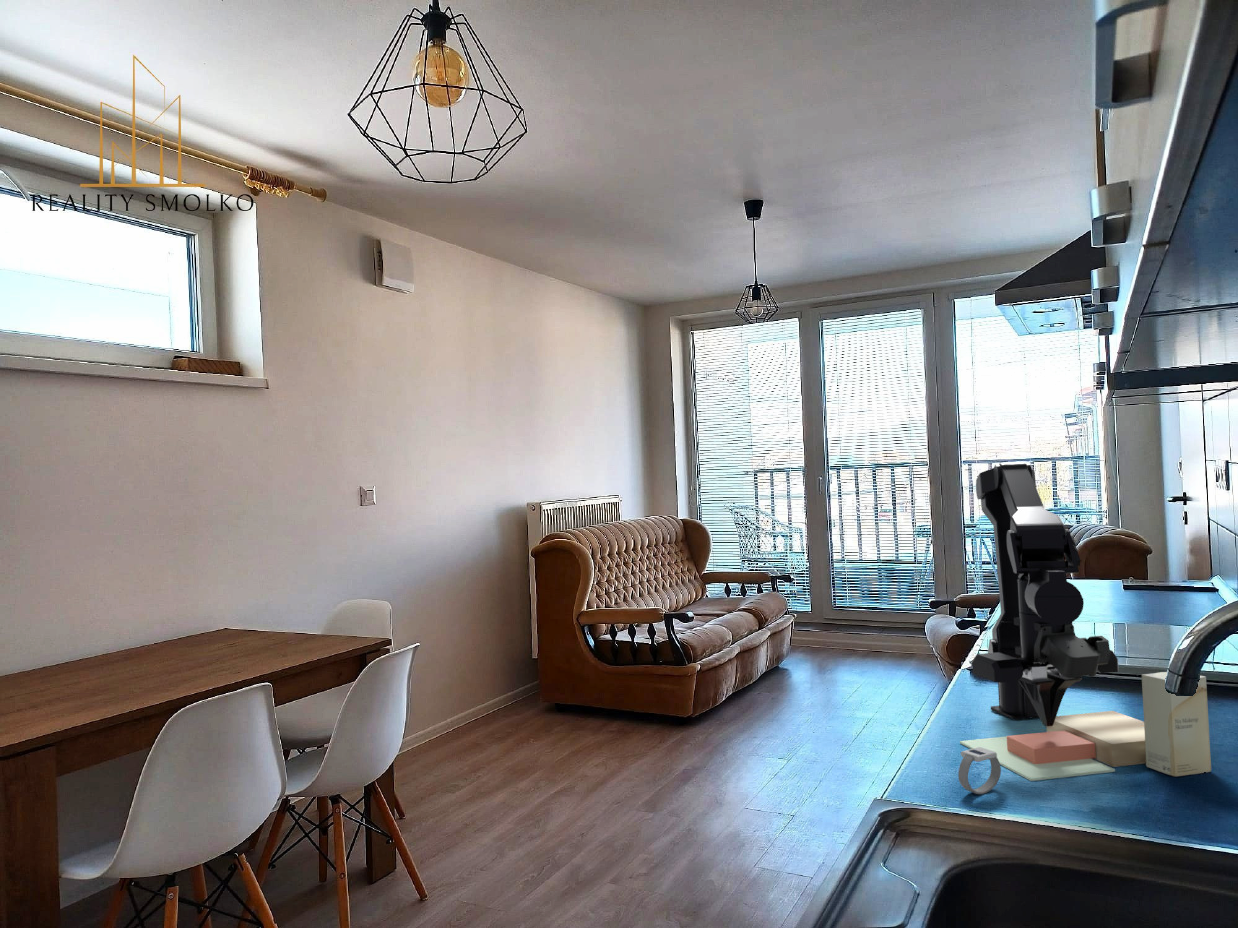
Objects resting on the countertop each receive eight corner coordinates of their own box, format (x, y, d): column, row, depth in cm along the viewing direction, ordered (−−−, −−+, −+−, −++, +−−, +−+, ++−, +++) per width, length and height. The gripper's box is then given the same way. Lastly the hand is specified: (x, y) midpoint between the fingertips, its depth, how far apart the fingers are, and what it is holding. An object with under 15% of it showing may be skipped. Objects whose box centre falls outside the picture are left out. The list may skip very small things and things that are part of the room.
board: (1047, 737, 124) (1046, 717, 124) (1113, 730, 126) (1112, 710, 126) (1113, 766, 111) (1111, 743, 111) (1186, 758, 113) (1185, 736, 113)
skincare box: (1174, 778, 106) (1169, 681, 107) (1144, 767, 111) (1139, 673, 111) (1213, 771, 108) (1208, 676, 108) (1182, 760, 112) (1177, 668, 113)
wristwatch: (988, 783, 107) (986, 744, 107) (1007, 790, 105) (1005, 749, 105) (953, 793, 105) (951, 752, 105) (972, 800, 102) (970, 759, 102)
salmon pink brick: (1034, 764, 113) (1034, 748, 113) (1007, 750, 118) (1006, 735, 119) (1095, 757, 114) (1095, 742, 114) (1065, 744, 120) (1064, 730, 120)
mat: (959, 743, 123) (959, 740, 123) (1034, 735, 125) (1034, 733, 125) (1031, 780, 108) (1031, 778, 108) (1114, 771, 110) (1114, 769, 110)
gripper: (1017, 626, 108) (1023, 750, 107) (1146, 616, 111) (1153, 736, 111) (967, 613, 119) (973, 725, 118) (1086, 604, 122) (1092, 713, 122)
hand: (1047, 725), depth 117 cm, fingers closed
